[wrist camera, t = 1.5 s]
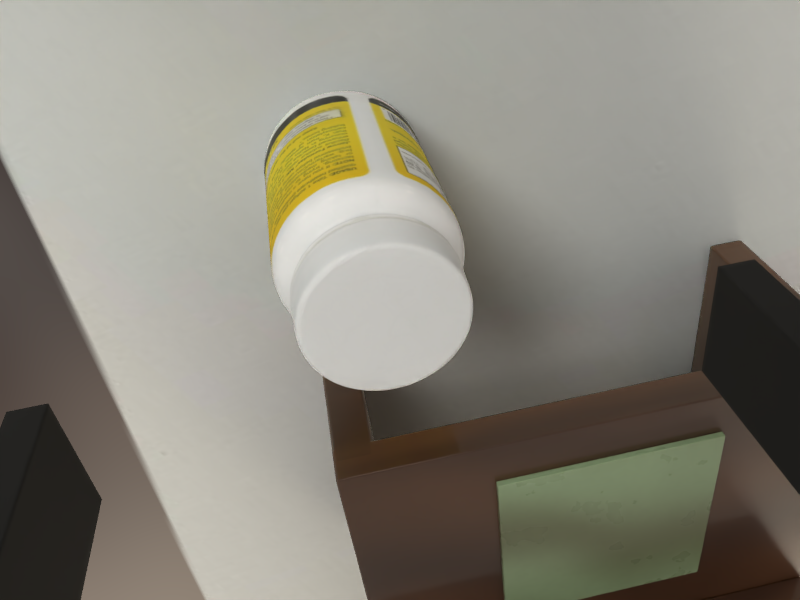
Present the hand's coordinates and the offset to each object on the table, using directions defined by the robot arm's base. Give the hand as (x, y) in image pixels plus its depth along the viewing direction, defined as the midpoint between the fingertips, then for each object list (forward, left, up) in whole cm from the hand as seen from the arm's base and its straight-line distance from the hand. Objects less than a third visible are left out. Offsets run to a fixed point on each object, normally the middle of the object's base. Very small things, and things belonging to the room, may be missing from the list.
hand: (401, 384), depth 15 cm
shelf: (+12, +6, -10) cm, 17 cm away
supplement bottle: (0, 0, -10) cm, 10 cm away
